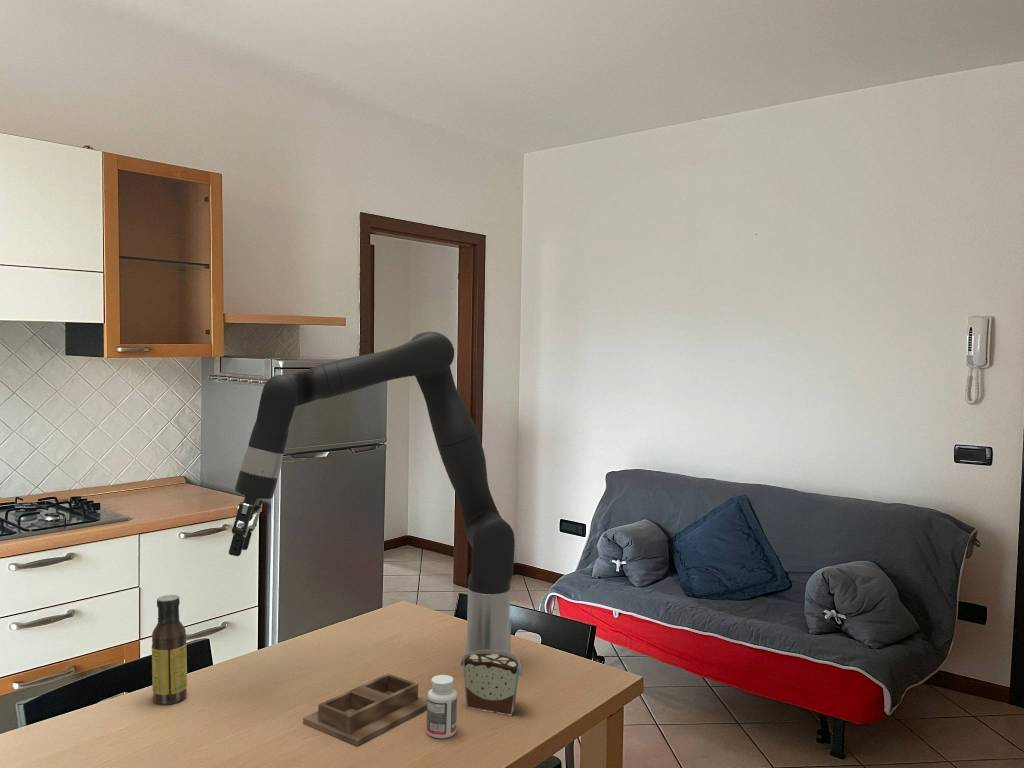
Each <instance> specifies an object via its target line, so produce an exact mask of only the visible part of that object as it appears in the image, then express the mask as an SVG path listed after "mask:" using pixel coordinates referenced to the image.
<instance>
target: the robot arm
mask: <svg viewBox="0 0 1024 768" xmlns="http://www.w3.org/2000/svg"><path fill="white" fill-rule="evenodd" d="M454 358H455V348H454V344H453V343H452V341H451V340H450V339H449V338H448V337H447V336H446V335H444V334H442V333H440V332H436V331H424V332H420V333H417V334H415V336H413V337H412V338H411V339H410V340H409V341H407V342H406V343H403V344H401V345H398V346H395V347H391V348H389V349H386V350H382V351H378V352H372V353H368V354H362V355H357V356H351V357H346V358H341V359H337V360H334V361H330V362H326V363H322V364H319V365H316V366H312V367H311V368H309V369H305V370H303V371H297V372H294V373H293V372H292V373H289V374H276V375H274V376H271V377H270V378H269V379H268V380H267V381H265V383H264V385H263V387H262V391H261V395H260V399H259V404H258V409H257V415H256V419H255V420H256V421H255V423H254V425H253V428H252V431H251V434H250V437H249V441H248V445H247V448H246V450H245V453H244V455H243V458H242V462H241V465H240V468H239V469H240V470H239V472H238V476H237V480H236V484H235V488H234V491H235V492H236V493H238V494H239V495H243V496H244V499H243V501H240V502H239V504H238V506H237V512H236V516H235V518H234V521H233V526H232V527H231V533H232V539H231V542H230V545H229V550H228V554H229V556H234V557H240V556H241V555H242V551H247V550H248V548H249V545H250V541H251V538H252V534H253V532H254V531H255V529H256V527H257V526H258V523H259V518H260V513H261V512H262V507H263V506H262V504H263V500H271V499H273V498H274V494H275V491H276V487H277V483H278V481H279V476H280V473H281V470H282V464H283V456H284V452H285V449H286V445H287V441H288V437H289V428H290V424H291V421H292V418H293V416H294V415H293V414H294V412H295V409H296V407H299V406H301V405H306V404H309V403H311V402H315V401H318V400H324V399H325V400H326V399H329V398H333V397H336V396H341V395H345V394H348V393H351V392H352V393H353V392H355V391H358V390H361V389H364V388H367V387H368V388H369V387H372V386H374V385H377V384H381V383H384V382H388V381H392V380H398V379H402V378H406V377H407V378H409V377H414V378H415V379H416V381H417V383H418V385H419V388H420V390H421V393H422V395H423V398H424V401H425V405H426V408H427V413H428V416H429V421H430V424H431V425H430V426H431V429H432V432H433V436H434V440H435V442H436V446H437V449H438V453H439V455H440V458H441V461H442V464H443V466H444V469H445V472H446V475H447V476H448V477H447V478H449V481H450V483H451V486H452V488H453V490H454V493H455V494H456V497H457V499H458V503H459V507H460V510H461V515H462V519H463V525H464V529H465V533H466V534H465V535H466V540H467V542H468V543H469V546H470V547H471V548H472V557H471V572H470V574H469V575H468V579H467V580H468V581H467V615H466V619H467V620H466V647H465V649H466V650H465V651H466V652H465V655H466V654H467V653H470V652H474V651H478V650H499V651H505V652H508V653H511V638H512V637H511V635H512V634H511V633H512V632H511V631H512V621H511V620H510V608H511V607H510V605H511V601H510V600H511V581H512V579H513V576H514V563H515V550H516V549H515V546H516V544H515V533H514V530H513V528H512V526H511V525H510V524H509V522H507V521H506V520H505V519H503V518H502V516H501V515H500V512H499V510H498V508H497V506H496V503H495V501H494V499H493V496H492V494H491V490H490V487H489V481H488V469H487V461H486V456H485V452H484V451H485V450H484V447H483V445H482V441H481V438H480V435H479V432H478V430H477V426H476V424H475V422H474V420H473V418H472V416H471V414H470V412H469V410H468V408H467V406H466V405H465V403H464V401H463V400H462V398H461V396H460V394H459V392H458V389H457V387H456V383H455V380H454V376H453V374H452V369H451V365H452V363H453V361H454Z"/></svg>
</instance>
